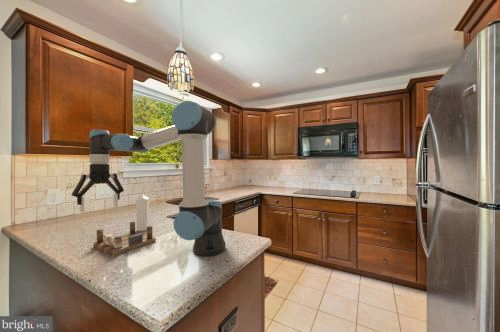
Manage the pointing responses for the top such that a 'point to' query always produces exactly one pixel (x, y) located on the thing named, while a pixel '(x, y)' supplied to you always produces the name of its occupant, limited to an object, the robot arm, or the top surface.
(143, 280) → the top surface
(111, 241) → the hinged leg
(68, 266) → the top surface
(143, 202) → the milk
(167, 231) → the top surface
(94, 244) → the wooden peg board
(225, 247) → the robot arm
